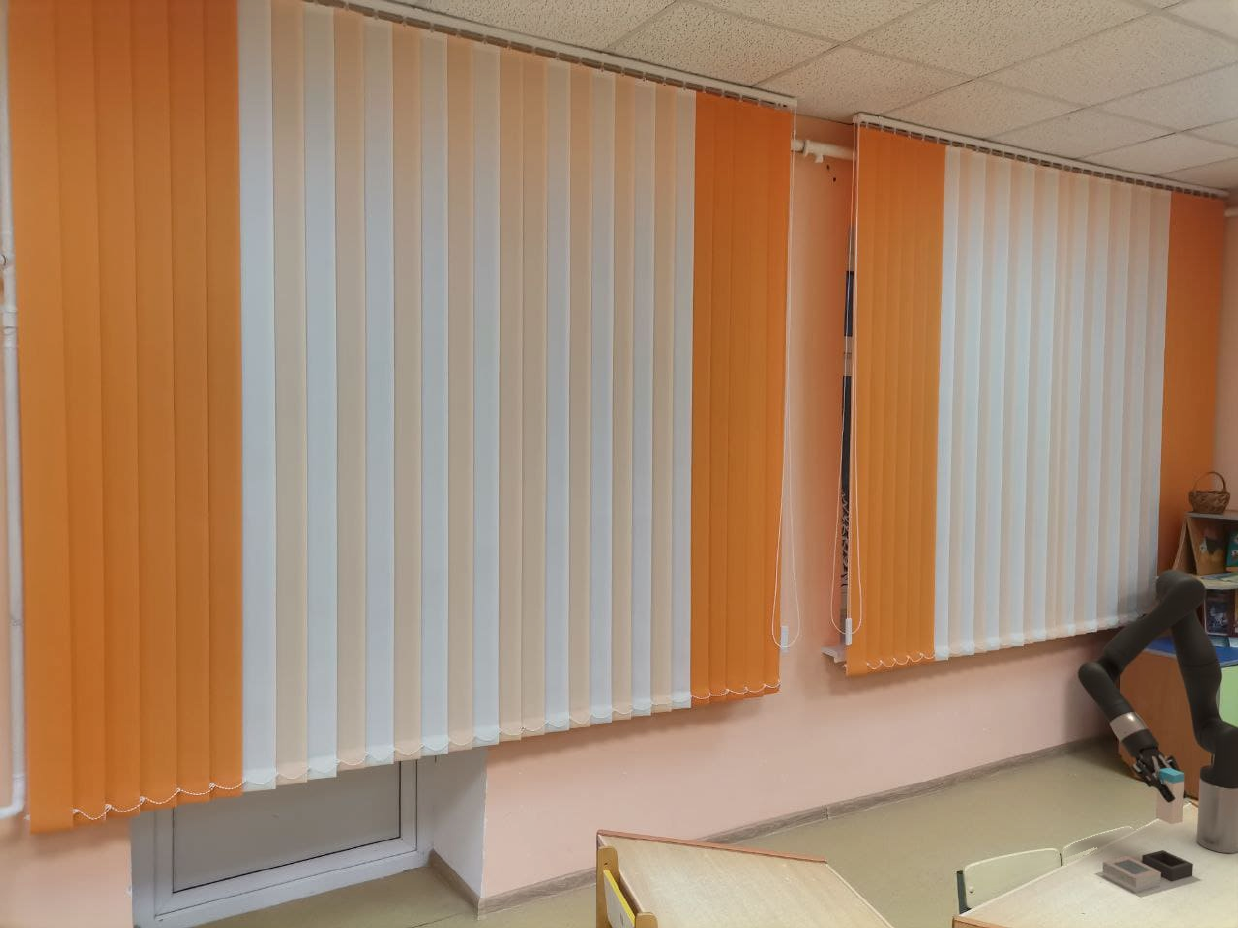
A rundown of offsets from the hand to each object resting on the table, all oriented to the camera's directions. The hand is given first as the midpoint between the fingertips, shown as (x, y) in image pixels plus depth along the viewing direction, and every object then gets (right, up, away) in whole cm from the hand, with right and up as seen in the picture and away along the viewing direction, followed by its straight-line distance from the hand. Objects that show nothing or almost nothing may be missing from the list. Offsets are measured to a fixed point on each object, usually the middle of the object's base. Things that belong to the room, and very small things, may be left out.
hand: (1177, 799), depth 216 cm
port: (-13, -20, -3) cm, 24 cm away
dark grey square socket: (-1, -20, +3) cm, 20 cm away
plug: (-1, -6, +2) cm, 6 cm away
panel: (-8, -20, 0) cm, 21 cm away
